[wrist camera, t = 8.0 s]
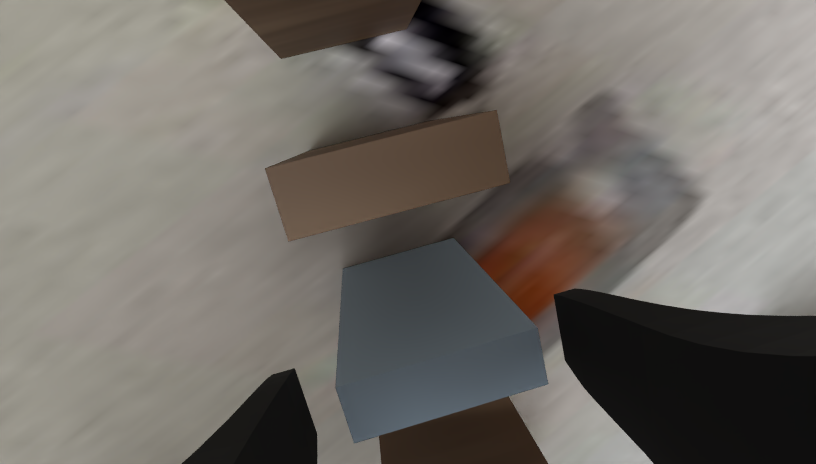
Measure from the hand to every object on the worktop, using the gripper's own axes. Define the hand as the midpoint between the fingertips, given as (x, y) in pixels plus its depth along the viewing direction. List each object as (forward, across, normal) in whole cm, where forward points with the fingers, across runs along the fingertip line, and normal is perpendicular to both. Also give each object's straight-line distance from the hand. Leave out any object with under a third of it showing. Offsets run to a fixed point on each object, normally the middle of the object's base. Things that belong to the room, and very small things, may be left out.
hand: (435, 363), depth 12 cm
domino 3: (+8, 0, 0) cm, 8 cm away
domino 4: (+8, 0, -5) cm, 10 cm away
